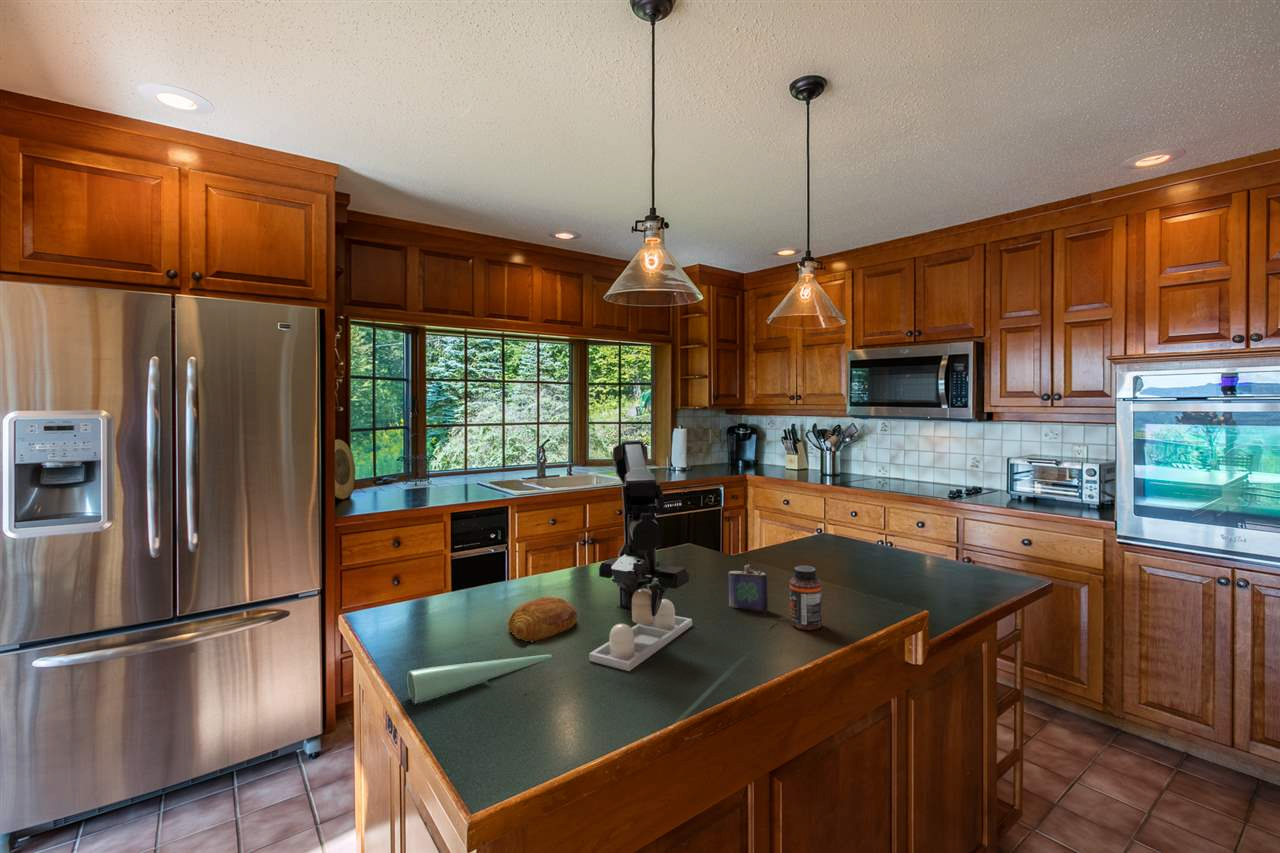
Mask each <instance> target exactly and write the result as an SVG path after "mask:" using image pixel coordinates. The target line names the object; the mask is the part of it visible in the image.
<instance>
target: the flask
mask: <svg viewBox="0 0 1280 853" xmlns="http://www.w3.org/2000/svg"><path fill="white" fill-rule="evenodd" d="M750 566H751V564H747V565H746V564H745V565H744V566H743V568H744V571H742V570H740V571H739V570H731V571H728V574H727V575H728V607H730V608H737V609H738V608H739V609H743V610H750V611H755V612H760V611H767V612H768V609H769V608H768V607H769V606H768V603H769V602H768V601H769V600H768V576H767V574H766V573H765V572H761V571H760V570H753V569H752V568H750Z"/></svg>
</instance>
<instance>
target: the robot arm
mask: <svg viewBox="0 0 1280 853" xmlns="http://www.w3.org/2000/svg"><path fill="white" fill-rule="evenodd" d="M648 453H649V452H648V446H646V445H645V444H644V442H643V441H642V440H640V439H635V440H633V439H632V440H631V439H627V440H626V439H625V440H624V441H621V442H620V444H618V445H616V446H614V447H613V449H612V466H613V467H615V474H616V475H617V477H618V479H619V480H620V482H621V499H622V510H623V512H622V513H623V516H622V517H623V535H624V536H623V538H624V542H623V545H622V546H621V548H620V550H619V551H618V558H617V557H613V558H610V559H608V560H605V561H603V562H601V563H600V564H599V567H598V576H599V577H600V578H604V579H611V578H612V577H613V579H611V581H612V583H613V584H616V587H619V605H617V606H616V608H617V609H620V610H621V609H622V610H628V611H630V612H631V613H632V596H633V594H634V593H635V592H636V591H637V590H639V589H648V590H650V591H651V592H652V616H656V615H657V612H658V610H659V607H660V605H661V602H662V600H663V599H664V598H665V597H664V596H665V595H666V593H667V591H668V589H672V590H673V589H678V588H680V587H682V586H683V585H685V584H687V583H688V582H690V577H689V576H690V574H689V571H688V570H687V569H686V567H680V566H673V565H670V566H667V567H666V568H664V569H657V568H659V567H660V565H661V564H660V563H661V562H660V561H658V560H657V548H659V547H660V544H661V542H662V539H663V530H662V528H661V526H660V525H659V523H658V522H657V519H656V514H663V512H664V511H663V509H665V500H664V494H663V488H662V486H661V484H660V483H659V482H657V480H656V476H655V474H654V473H653V472H651V471H649V470H648V469H647V465H648V462H649V454H648Z"/></svg>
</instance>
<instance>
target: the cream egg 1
mask: <svg viewBox="0 0 1280 853" xmlns="http://www.w3.org/2000/svg"><path fill="white" fill-rule="evenodd" d="M609 641H610V657H614V658H618V659H622V660H626V661H628V660H630V659H631V658H633V657H634V656H635V654H634V632H633V630H632V627H631V626H630V625H629V624H626V623H624V622H623V623H616V624H615V625H614V626H613V627H612V628H611V630H610V632H609ZM609 641H608V642H609Z"/></svg>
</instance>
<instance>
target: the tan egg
mask: <svg viewBox="0 0 1280 853" xmlns="http://www.w3.org/2000/svg"><path fill="white" fill-rule="evenodd" d="M648 589H649V588H648ZM648 589H639V590H637V591H636V592H635V593H634V594H633V596H632V612H631V620H632V623H635V624H649V623H652V622H654V621H655V616H652V592H651V590H650V589H649V590H648Z"/></svg>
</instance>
